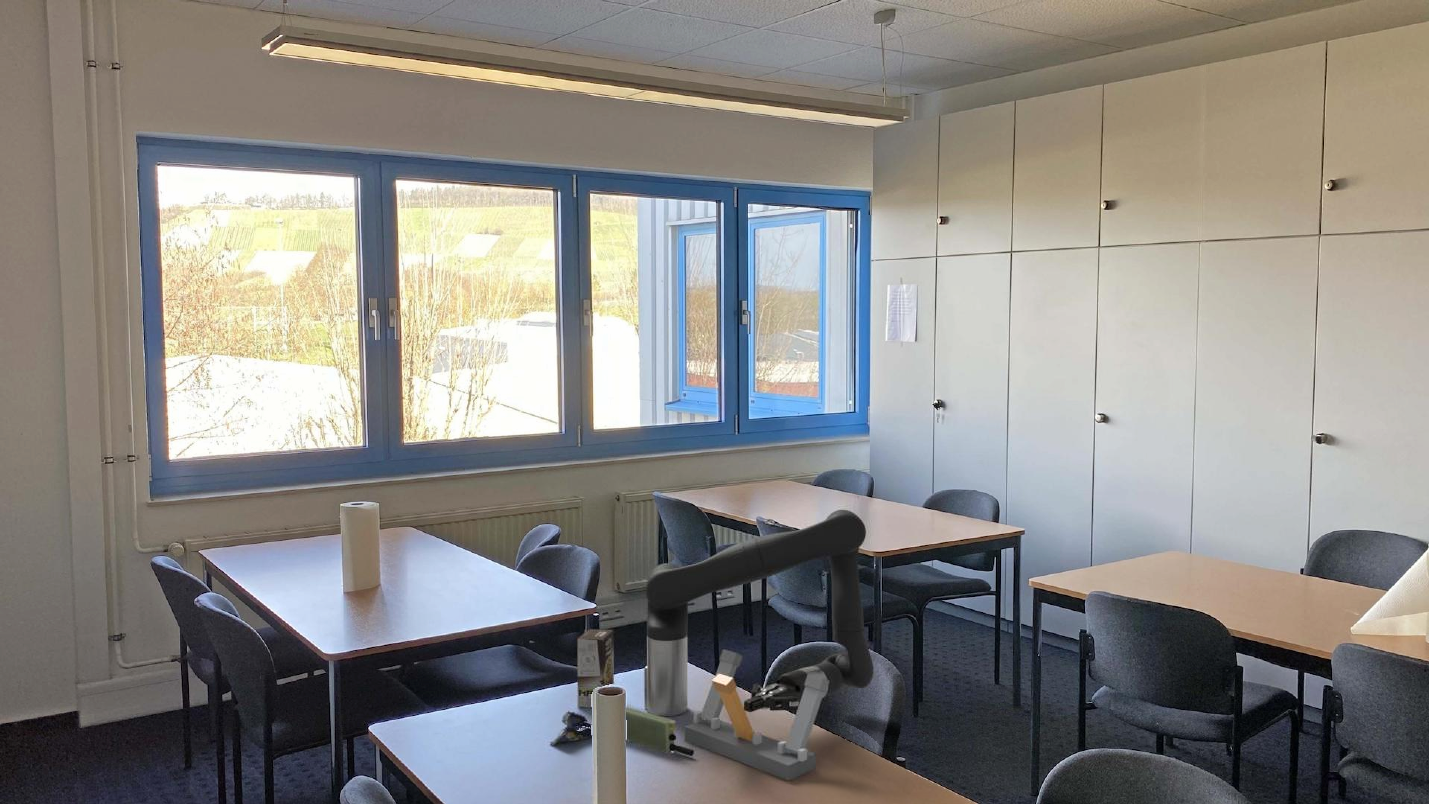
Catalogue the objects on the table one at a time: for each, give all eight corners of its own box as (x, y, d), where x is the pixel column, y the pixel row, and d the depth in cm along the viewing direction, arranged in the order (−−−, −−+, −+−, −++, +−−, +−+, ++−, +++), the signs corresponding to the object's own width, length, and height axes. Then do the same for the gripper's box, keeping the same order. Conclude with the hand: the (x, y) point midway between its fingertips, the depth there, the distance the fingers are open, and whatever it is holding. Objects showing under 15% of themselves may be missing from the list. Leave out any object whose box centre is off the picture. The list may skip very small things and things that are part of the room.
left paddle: (698, 716, 225) (723, 649, 229) (704, 719, 226) (729, 652, 231) (711, 721, 222) (736, 652, 227) (718, 724, 223) (742, 656, 228)
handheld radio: (608, 729, 230) (698, 756, 215) (598, 734, 228) (687, 762, 212) (607, 699, 230) (697, 724, 214) (596, 704, 227) (686, 730, 212)
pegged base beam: (682, 739, 223) (682, 716, 223) (709, 730, 229) (709, 707, 229) (790, 781, 202) (790, 756, 202) (817, 769, 208) (817, 744, 207)
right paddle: (783, 746, 208) (807, 673, 212) (789, 749, 209) (814, 676, 214) (798, 752, 205) (823, 678, 210) (804, 755, 206) (829, 681, 211)
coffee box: (603, 709, 242) (602, 639, 241) (576, 707, 244) (576, 638, 243) (615, 696, 251) (614, 629, 250) (589, 694, 253) (588, 627, 252)
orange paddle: (735, 737, 216) (711, 680, 210) (742, 729, 217) (718, 673, 212) (750, 742, 213) (726, 685, 207) (756, 735, 214) (733, 678, 209)
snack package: (544, 732, 229) (551, 751, 218) (548, 703, 229) (556, 720, 218) (598, 736, 232) (608, 754, 221) (602, 707, 233) (612, 724, 221)
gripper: (779, 663, 231) (723, 681, 219) (826, 676, 222) (770, 696, 210) (779, 696, 232) (723, 716, 220) (826, 711, 222) (770, 733, 210)
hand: (746, 706), depth 215 cm, fingers closed
